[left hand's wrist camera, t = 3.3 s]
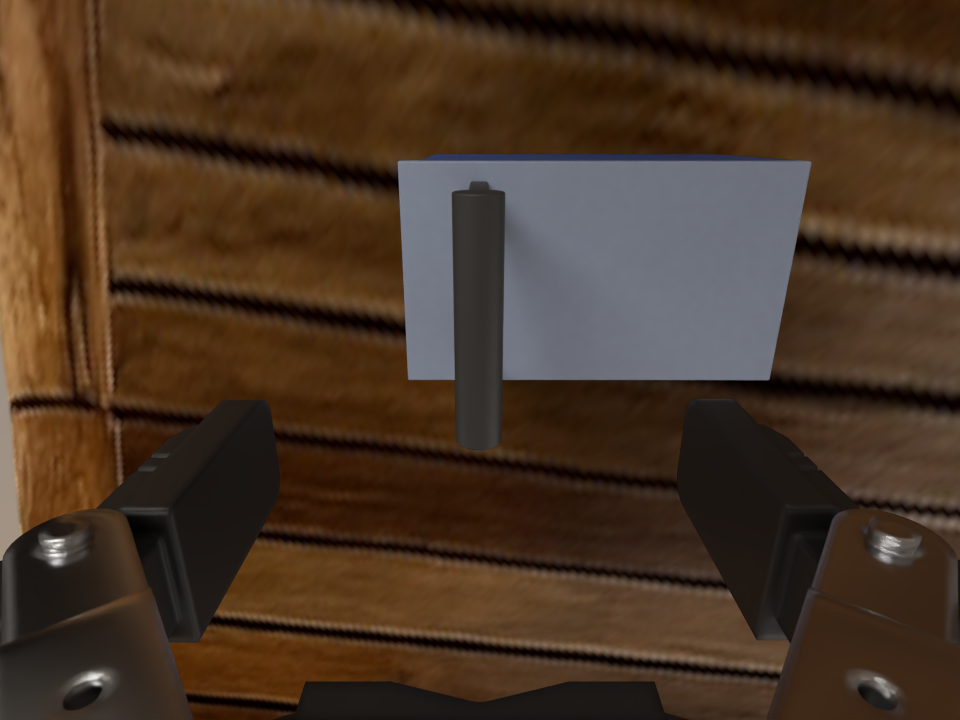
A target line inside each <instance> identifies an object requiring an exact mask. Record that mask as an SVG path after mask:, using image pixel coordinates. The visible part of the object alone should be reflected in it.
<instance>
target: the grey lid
mask: <svg viewBox="0 0 960 720" xmlns="http://www.w3.org/2000/svg"><path fill="white" fill-rule="evenodd" d="M810 168H811V162H810V161H399V162H398V175H399V196H400V217H401V238H402V259H403V280H404V300H405V321H406V342H407V363H408V379H409V380H455V422H456V441H457V443H458V444H459V445H461V446H462V447H464V448H467V449H472V450H485V449H490V448H493V447H495V446H497V445H498V444H499V443H500V442H501V440H502V388H503V380H769V379H770V373H771V368H772V363H773V358H774V353H775V348H776V343H777V337H778V332H779V327H780V322H781V317H782V312H783V307H784V301H785V296H786V291H787V286H788V281H789V276H790V271H791V265H792V260H793V255H794V250H795V245H796V240H797V235H798V229H799V224H800V219H801V214H802V209H803V204H804V199H805V193H806V188H807V183H808V178H809V173H810Z"/></svg>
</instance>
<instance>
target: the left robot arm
mask: <svg viewBox="0 0 960 720" xmlns="http://www.w3.org/2000/svg"><path fill="white" fill-rule="evenodd" d="M677 485H678V492H679V497H680V500H681V503H682V505H683V507H684V509H685V510H686V512H687V514H688V516H689V518H690V519H691V521H692V523H693V525H694V527H695V529H696V530H697V532H698V534H699V536H700V538H701V539H702V541H703V543H704V545H705V547H706V549H707V550H708V552H709V554H710V556H711V558H712V559H713V561H714V563H715V565H716V567H717V569H718V570H719V572H720V574H721V576H722V578H723V579H724V581H725V583H726V585H727V587H728V589H729V590H730V592H731V594H732V596H733V598H734V599H735V601H736V603H737V605H738V607H739V609H740V610H741V612H742V614H743V616H744V618H745V619H746V621H747V623H748V625H749V627H750V629H751V630H752V632H753V634H754V636H755V638H756V639H757V640H788V641H789V642H790V644H791V645H790V648H789V651H788V654H787V657H786V660H785V663H784V666H783V670H782V673H781V676H780V679H779V682H778V685H777V688H776V691H775V695H774V698H773V701H772V704H771V707H770V710H769V713H768V716H767V720H960V560H957V556H956V554H955V552H954V550H953V549H952V548H951V546H950V545H949V544H948V543H947V542H946V541H945V540H944V539H942V538H941V537H940V536H938V535H937V534H936V533H934V532H933V531H931V530H929V529H928V528H926V527H924V526H922V525H920V524H918V523H916V522H914V521H912V520H909V519H907V518H904V517H901V516H898V515H896V514H892V513H888V512H884V511H879V510H873V509H860V508H859V507H858V506H857V505H856V504H855V503H854V502H853V501H852V500H851V499H850V498H849V497H848V496H847V495H846V494H845V493H844V492H843V491H842V490H841V489H840V488H839V487H838V486H837V485H836V484H835V483H834V482H833V481H832V480H831V479H830V478H828V477H827V476H826V475H825V474H824V473H823V472H822V471H821V470H818V469H817V466H816V465H815V464H814V463H813V462H812V461H811V460H810V459H809V458H808V457H804V453H803V452H802V451H801V450H800V449H799V448H798V447H797V446H796V445H795V444H794V443H793V442H792V441H791V440H790V439H789V438H787V437H786V436H784V435H782V434H780V433H778V432H776V431H774V430H773V429H771V428H769V427H767V426H765V425H763V424H757V423H756V422H755V420H754V419H753V418H752V417H751V416H750V415H749V414H748V413H747V412H746V411H745V410H744V409H743V408H742V407H741V406H740V405H739V404H738V403H737V402H736V401H735V400H733V399H692V400H691V401H690V402H689V404H688V406H687V409H686V414H685V421H684V428H683V435H682V442H681V449H680V456H679V463H678V471H677ZM279 486H280V472H279V465H278V458H277V451H276V444H275V437H274V430H273V423H272V416H271V411H270V407H269V405H268V403H267V402H266V401H265V400H223V401H221V402H220V403H219V404H218V405H217V406H216V407H215V408H214V409H213V410H212V411H211V412H210V413H209V414H208V416H207V417H206V418H205V419H204V420H203V421H202V422H201V423H200V424H199V425H193V426H191V427H189V428H187V429H185V430H184V431H182V432H180V433H178V434H176V435H174V436H173V437H171V438H169V439H168V440H167V441H166V442H164V443H163V444H162V445H161V446H160V447H159V448H158V449H157V450H156V451H155V452H154V453H153V454H152V458H148V459H147V460H146V461H145V462H144V463H143V464H142V465H141V466H140V467H139V468H138V471H135V472H134V473H132V474H131V475H130V476H129V477H128V478H127V479H126V480H125V481H124V482H123V483H122V484H121V485H120V486H119V487H118V488H117V489H116V490H115V491H114V492H113V493H112V494H111V495H110V496H109V497H108V498H107V499H106V500H105V501H104V502H103V503H102V504H100V505H99V506H98V507H97V508H96V509H87V510H81V511H76V512H72V513H68V514H64V515H62V516H59V517H56V518H53V519H51V520H48V521H46V522H44V523H42V524H40V525H38V526H36V527H34V528H32V529H31V530H29V531H27V532H26V533H24V534H23V535H22V536H20V537H19V538H18V539H16V540H15V541H14V542H13V543H12V544H11V545H10V546H9V548H8V549H7V550H6V552H5V554H4V556H3V560H2V561H0V720H193V716H192V713H191V710H190V707H189V704H188V701H187V698H186V695H185V691H184V688H183V685H182V682H181V679H180V676H179V673H178V670H177V666H176V663H175V660H174V657H173V654H172V651H171V648H170V645H169V642H199V641H200V639H201V637H202V635H203V633H204V632H205V630H206V628H207V626H208V624H209V623H210V621H211V619H212V617H213V615H214V614H215V612H216V610H217V608H218V606H219V605H220V603H221V601H222V599H223V597H224V596H225V594H226V592H227V590H228V588H229V587H230V585H231V583H232V581H233V579H234V578H235V576H236V574H237V572H238V571H239V569H240V567H241V565H242V563H243V562H244V560H245V558H246V556H247V554H248V553H249V551H250V549H251V547H252V545H253V544H254V542H255V540H256V538H257V536H258V535H259V533H260V531H261V529H262V527H263V526H264V524H265V522H266V520H267V518H268V517H269V515H270V513H271V511H272V509H273V508H274V506H275V504H276V501H277V498H278V493H279ZM274 720H686V719H684V718H681V717H678V716H675V715H671V714H667V713H664V710H663V707H662V704H661V701H660V698H659V694H658V691H657V688H656V685H655V682H565V683H561V684H557V685H553V686H549V687H545V688H541V689H537V690H532V691H528V692H524V693H520V694H516V695H512V696H508V697H504V698H500V699H496V700H492V701H486V702H474V701H468V700H464V699H460V698H456V697H452V696H448V695H444V694H440V693H436V692H432V691H428V690H423V689H419V688H415V687H411V686H407V685H403V684H399V683H395V682H305V685H304V688H303V691H302V694H301V698H300V701H299V704H298V707H297V710H296V713H293V714H289V715H285V716H282V717H279V718H276V719H274Z"/></svg>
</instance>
